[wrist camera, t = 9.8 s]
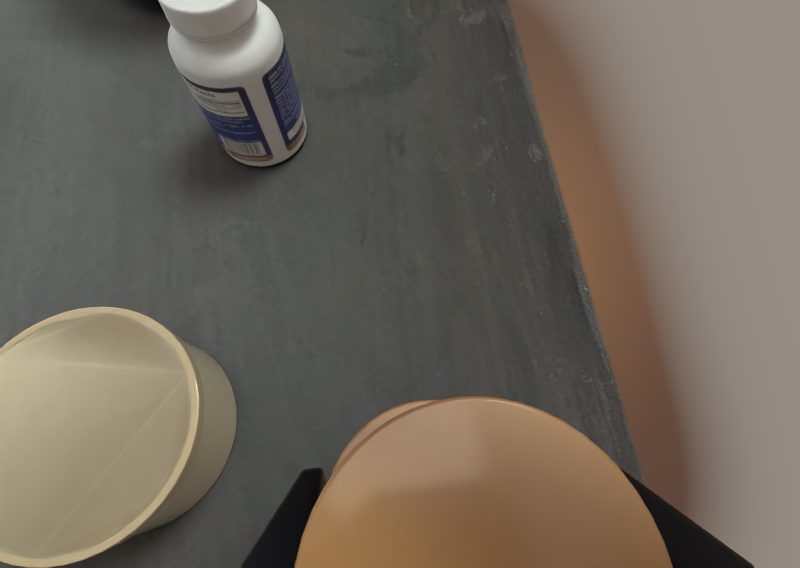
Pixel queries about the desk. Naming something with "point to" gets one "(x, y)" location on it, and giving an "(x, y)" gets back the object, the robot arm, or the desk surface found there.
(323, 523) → the flanged wooden cylinder
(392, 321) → the desk surface
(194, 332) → the desk surface
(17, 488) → the cream ceramic pot
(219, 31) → the pill bottle
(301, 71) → the desk surface
